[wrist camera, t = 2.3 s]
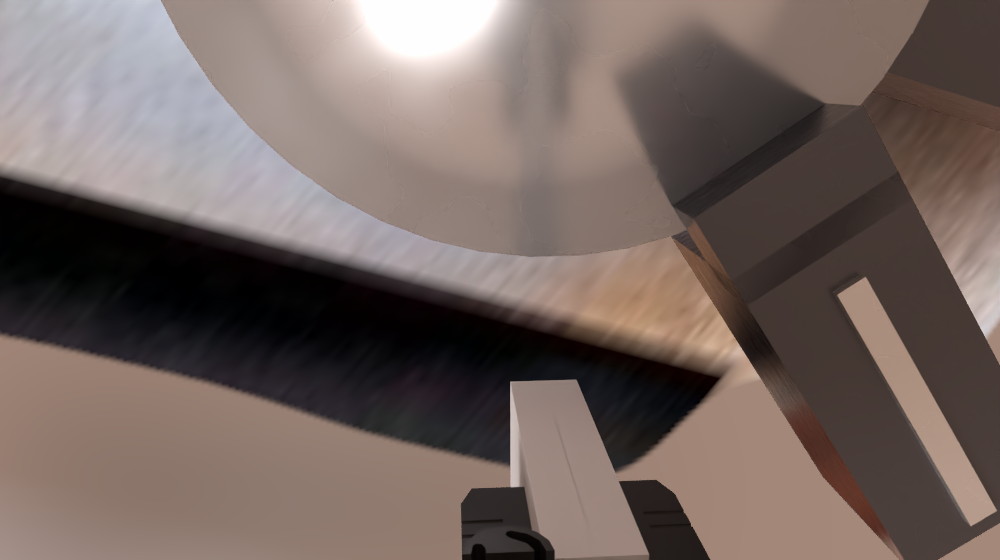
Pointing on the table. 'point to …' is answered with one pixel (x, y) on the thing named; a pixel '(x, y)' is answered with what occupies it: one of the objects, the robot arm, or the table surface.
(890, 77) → the pot
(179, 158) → the table surface
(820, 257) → the lid
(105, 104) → the table surface
